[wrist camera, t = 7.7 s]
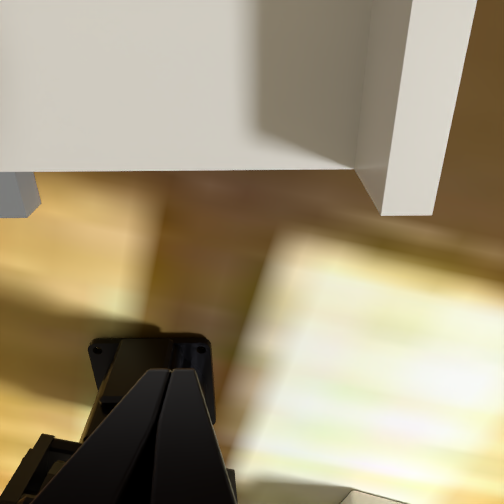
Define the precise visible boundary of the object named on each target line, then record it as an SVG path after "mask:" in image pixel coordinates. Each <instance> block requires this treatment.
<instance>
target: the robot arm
mask: <svg viewBox="0 0 504 504" xmlns="http://www.w3.org/2000/svg"><path fill="white" fill-rule="evenodd" d="M200 346H202V347H204V348H203V349H202V348H199V347H200ZM96 347H99V348H101V349H98V348H96ZM88 352H89V356H90V360H91V364H92V368H93V372H94V376H95V381H96V385H97V389H98V394H97V396H96V399H95V402H94V404H93V407H92V410H91V412H90V415H89V418H88V420H87V423H86V425H85V428H84V431H83V433H82V436H81V439H80V441H79V443H78V442H73V441H67V440H62V439H57V438H55V436H53V435H48V434H41V436H40V438H39V439H38V441H37V443H36V444H35V446H34V447H33V449H31V448H30V449H29V450H28V452H27V454H26V455H25V457H24V458H23V459H22V461H21V463H20V465H19V467H18V468H17V470H16V472H15V473H14V475H13V476H12V478H11V480H10V481H9V483H8V484H7V486H6V488H5V489H4V491H3V493H2V494H1V496H0V504H238V503H237V493H236V483H235V473H234V470H233V469H227V468H226V467H225V464H224V461H223V457H222V454H221V451H220V448H219V445H218V441H217V438H216V435H215V432H214V428H213V425H214V423H215V421H216V407H215V393H214V378H213V364H212V349H211V343H210V341H209V340H208V339H205V338H98V339H94V340H92V341H91V343H90V345H89V347H88Z"/></svg>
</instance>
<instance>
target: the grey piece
mask: <svg viewBox="0 0 504 504" xmlns="http://www.w3.org/2000/svg"><path fill="white" fill-rule="evenodd" d="M40 204H41V200H40V196H39V192H38V188H37V185H36V181H35V177H34V173H33V172H0V218H27V217H28V216H29V215H30V214H31V213H32V212H33V211H34V210H35V209H36V208H37V207H38V206H39V205H40Z"/></svg>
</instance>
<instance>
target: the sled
mask: <svg viewBox="0 0 504 504" xmlns="http://www.w3.org/2000/svg"><path fill="white" fill-rule="evenodd" d="M476 3H477V0H0V172H57V171H180V170H302V169H354V170H355V171H356V173H357V175H358V177H359V178H360V180H361V182H362V184H363V185H364V187H365V189H366V191H367V192H368V194H369V196H370V197H371V199H372V201H373V203H374V204H375V206H376V208H377V210H378V211H379V213H380V215H381V216H391V215H432V213H433V208H434V203H435V199H436V194H437V189H438V184H439V179H440V175H441V170H442V165H443V160H444V156H445V151H446V146H447V141H448V136H449V132H450V127H451V122H452V117H453V113H454V108H455V103H456V98H457V93H458V89H459V84H460V79H461V74H462V70H463V65H464V60H465V55H466V50H467V46H468V41H469V36H470V31H471V27H472V22H473V17H474V12H475V8H476Z"/></svg>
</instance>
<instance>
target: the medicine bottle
mask: <svg viewBox="0 0 504 504" xmlns="http://www.w3.org/2000/svg"><path fill="white" fill-rule="evenodd" d="M341 504H403V503H399V502H395V501H392V500H388V499H384V498H381V497H377V496H373V495H370V494H366V493H362V492H359V491H351V492H350V494H349V495H348V496H347V497H346V498H345V499H344V500H343V501H342V502H341Z"/></svg>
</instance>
